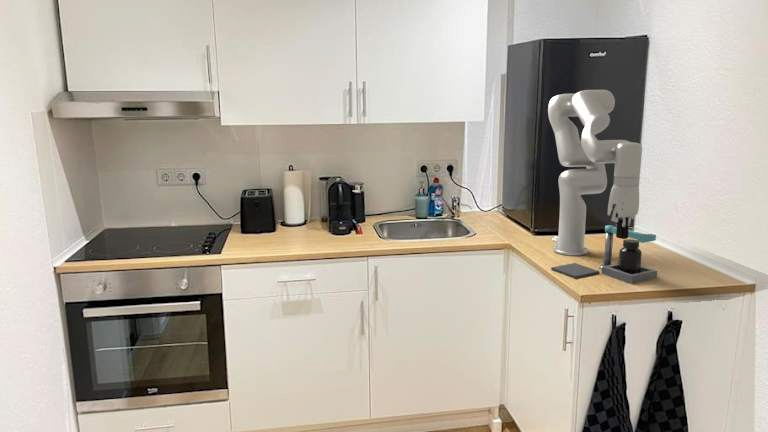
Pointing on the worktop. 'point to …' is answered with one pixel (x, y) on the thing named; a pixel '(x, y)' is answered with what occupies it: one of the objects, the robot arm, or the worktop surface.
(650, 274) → the bottle holder
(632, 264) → the supplement bottle
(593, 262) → the worktop surface
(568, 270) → the rubber mat
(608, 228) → the latch bar
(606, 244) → the latch post
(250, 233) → the worktop surface
